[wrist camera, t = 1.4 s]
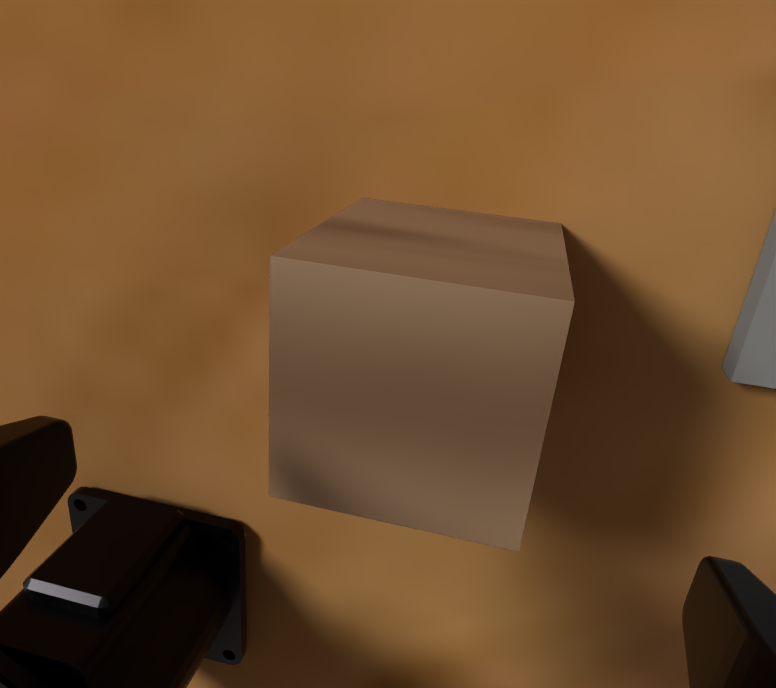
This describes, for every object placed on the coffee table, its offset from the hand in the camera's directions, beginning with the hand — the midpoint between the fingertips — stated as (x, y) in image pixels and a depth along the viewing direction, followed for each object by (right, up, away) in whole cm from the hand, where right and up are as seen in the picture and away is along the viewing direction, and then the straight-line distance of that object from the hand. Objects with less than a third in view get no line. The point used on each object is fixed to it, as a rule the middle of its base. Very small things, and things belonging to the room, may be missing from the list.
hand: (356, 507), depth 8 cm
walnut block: (+2, +3, +8) cm, 9 cm away
